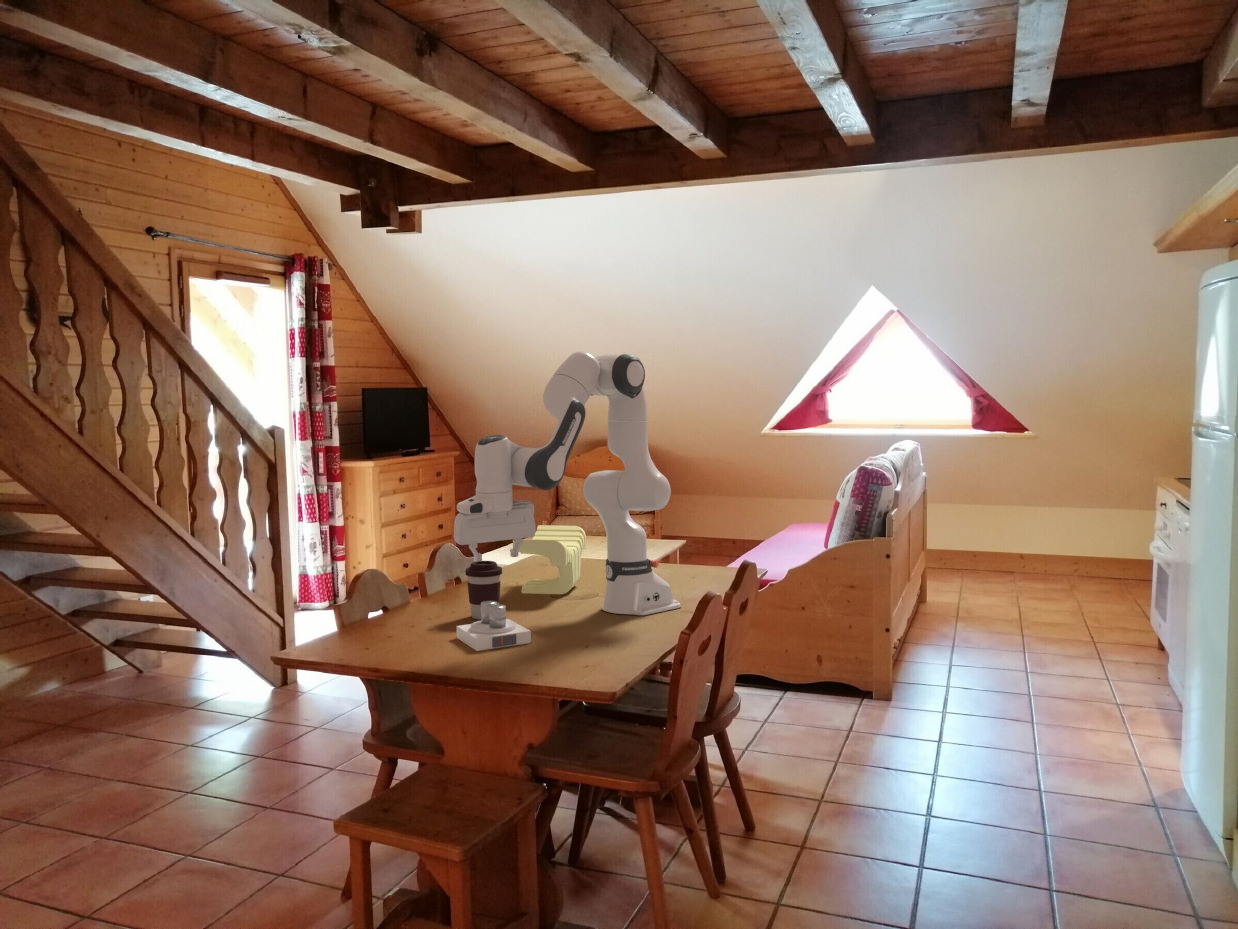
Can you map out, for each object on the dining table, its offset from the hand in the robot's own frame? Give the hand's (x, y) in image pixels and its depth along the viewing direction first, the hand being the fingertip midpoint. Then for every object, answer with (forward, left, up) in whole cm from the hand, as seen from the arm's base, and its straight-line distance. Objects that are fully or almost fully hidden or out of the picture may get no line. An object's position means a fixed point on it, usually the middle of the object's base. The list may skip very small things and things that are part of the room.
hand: (496, 558), depth 231 cm
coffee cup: (-7, -26, -21) cm, 34 cm away
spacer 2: (0, 0, -17) cm, 17 cm away
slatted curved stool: (-38, -49, -21) cm, 66 cm away
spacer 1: (0, -5, -17) cm, 17 cm away
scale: (0, -2, -21) cm, 21 cm away
